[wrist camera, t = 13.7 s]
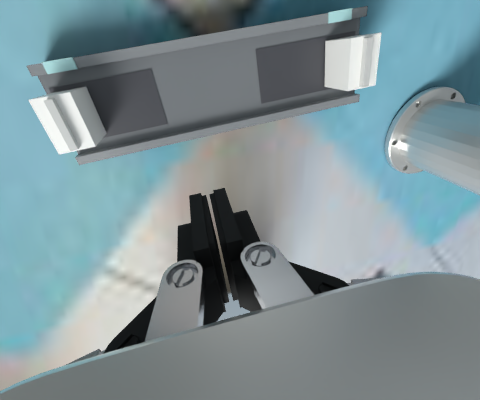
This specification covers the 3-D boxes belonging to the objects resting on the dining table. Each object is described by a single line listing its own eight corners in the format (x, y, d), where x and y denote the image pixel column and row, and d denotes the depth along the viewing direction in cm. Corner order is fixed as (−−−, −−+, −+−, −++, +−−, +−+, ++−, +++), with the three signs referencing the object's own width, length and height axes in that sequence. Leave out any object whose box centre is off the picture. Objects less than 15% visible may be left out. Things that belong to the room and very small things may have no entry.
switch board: (346, 10, 28) (368, 5, 25) (342, 97, 32) (360, 101, 29) (43, 64, 24) (24, 65, 21) (88, 154, 28) (78, 165, 25)
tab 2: (351, 36, 26) (386, 32, 22) (348, 81, 29) (379, 85, 24) (325, 41, 26) (355, 37, 22) (324, 86, 28) (351, 91, 24)
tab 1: (86, 86, 23) (67, 92, 19) (106, 133, 25) (94, 148, 21) (51, 93, 23) (24, 101, 18) (75, 140, 25) (56, 156, 21)
